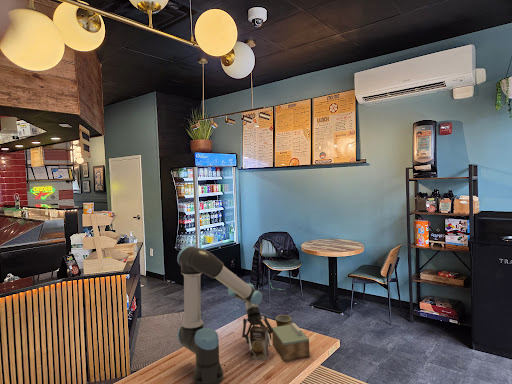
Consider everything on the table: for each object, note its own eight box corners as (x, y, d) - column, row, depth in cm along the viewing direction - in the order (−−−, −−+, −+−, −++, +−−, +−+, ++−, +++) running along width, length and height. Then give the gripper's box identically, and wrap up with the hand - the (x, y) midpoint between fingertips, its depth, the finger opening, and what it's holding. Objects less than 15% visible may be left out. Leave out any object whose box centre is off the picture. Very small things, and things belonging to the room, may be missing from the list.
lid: (283, 345, 177) (283, 337, 177) (272, 329, 197) (271, 322, 197) (309, 340, 181) (308, 333, 181) (295, 325, 201) (295, 318, 200)
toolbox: (284, 362, 178) (283, 345, 177) (272, 344, 197) (272, 329, 197) (309, 357, 182) (309, 341, 181) (296, 340, 201) (295, 326, 201)
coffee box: (250, 358, 182) (249, 330, 182) (253, 352, 189) (252, 325, 188) (266, 360, 180) (265, 331, 179) (269, 354, 186) (268, 326, 185)
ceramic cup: (294, 335, 208) (294, 319, 207) (280, 338, 204) (279, 322, 204) (285, 326, 220) (284, 312, 219) (271, 329, 216) (271, 315, 216)
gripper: (269, 309, 201) (279, 346, 187) (232, 314, 195) (239, 353, 181) (272, 303, 196) (281, 341, 181) (234, 309, 190) (241, 348, 175)
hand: (260, 347), depth 181 cm, fingers closed on coffee box, 11 cm apart
